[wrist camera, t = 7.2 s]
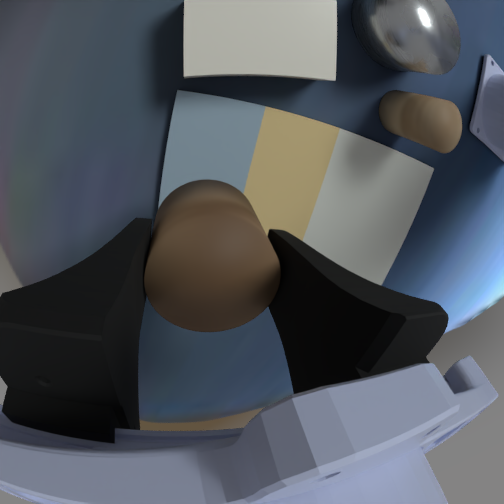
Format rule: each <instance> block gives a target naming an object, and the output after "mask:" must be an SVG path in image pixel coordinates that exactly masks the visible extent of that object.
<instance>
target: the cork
mask: <svg viewBox="0 0 504 504" xmlns="http://www.w3.org/2000/svg"><path fill="white" fill-rule="evenodd" d="M379 117H380V121H381V123H382V125H383V126H384V128H385V129H386V130H387V131H389V132H391V133H393V134H396V135H399V136H402V137H404V138H407V139H409V140H412V141H415V142H417V143H420V144H422V145H424V146H427V147H429V148H431V149H434V150H436V151H438V152H441V153H448V152H450V151H452V150H453V149H454V148H455V147H456V145H457V144H458V142H459V140H460V137H461V132H462V119H461V115H460V112H459V110H458V108H457V107H456V105H455V104H454V103H452V102H451V101H448V100H444V99H439V98H435V97H431V96H426V95H421V94H416V93H410V92H405V91H399V90H392V91H389V92H387V93H386V94H385V95H384V96H383V98H382V100H381V102H380V105H379Z"/></svg>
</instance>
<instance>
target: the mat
mask: <svg viewBox="0 0 504 504" xmlns="http://www.w3.org/2000/svg"><path fill="white" fill-rule="evenodd" d="M433 171H434V168H432V167H430V166H428V165H426V164H424V163H422V162H420V161H418V160H416V159H414V158H412V157H409V156H407V155H405V154H403V153H401V152H398V151H396V150H394V149H392V148H389V147H387V146H385V145H382V144H380V143H377V142H375V141H372V140H370V139H367V138H365V137H362V136H360V135H357V134H354V133H351V132H349V131H346V130H343V129H340V128H337V127H335V126H332V125H329V124H326V123H323V122H319V121H316V120H313V119H310V118H307V117H303V116H300V115H296V114H293V113H289V112H286V111H282V110H278V109H274V108H270V107H266V106H262V105H258V104H254V103H249V102H244V101H240V100H235V99H230V98H225V97H219V96H214V95H208V94H202V93H195V92H188V91H181V90H177V94H176V99H175V104H174V109H173V114H172V119H171V124H170V130H169V135H168V141H167V147H166V153H165V160H164V167H163V174H162V181H161V189H160V197H159V206H158V209H159V207H160V205H161V203H162V202H163V201H164V199H165V198H166V197H167V196H168V195H169V194H170V193H171V192H172V191H173V190H175V189H176V188H178V187H180V186H181V185H184V184H186V183H188V182H192V181H196V180H204V179H210V180H218V181H222V182H225V183H228V184H230V185H232V186H234V187H235V188H237V189H238V190H240V191H241V192H242V193H243V194H244V195H245V196H246V198H247V199H248V200H249V202H250V204H251V205H252V207H253V209H254V211H255V213H256V215H257V217H258V219H259V221H260V223H261V225H262V227H263V229H264V231H265V233H266V235H267V236H268V232H269V229H278V230H285V231H287V232H289V233H290V234H292V235H294V236H295V237H297V238H299V239H300V240H302V241H303V242H305V243H306V244H308V245H309V246H311V247H312V248H313V249H315V250H316V251H318V252H319V253H321V254H322V255H324V256H326V257H327V258H329V259H330V260H332V261H334V262H335V263H337V264H338V265H340V266H342V267H344V268H345V269H347V270H349V271H351V272H353V273H355V274H357V275H359V276H361V277H363V278H365V279H367V280H369V281H371V282H374V283H376V284H378V285H382V283H383V281H384V279H385V277H386V276H387V274H388V272H389V270H390V268H391V266H392V264H393V262H394V260H395V258H396V256H397V254H398V252H399V250H400V248H401V246H402V244H403V242H404V240H405V238H406V236H407V233H408V231H409V229H410V227H411V225H412V222H413V220H414V218H415V216H416V213H417V211H418V209H419V206H420V204H421V201H422V199H423V197H424V194H425V192H426V189H427V187H428V184H429V181H430V179H431V176H432V173H433Z"/></svg>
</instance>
